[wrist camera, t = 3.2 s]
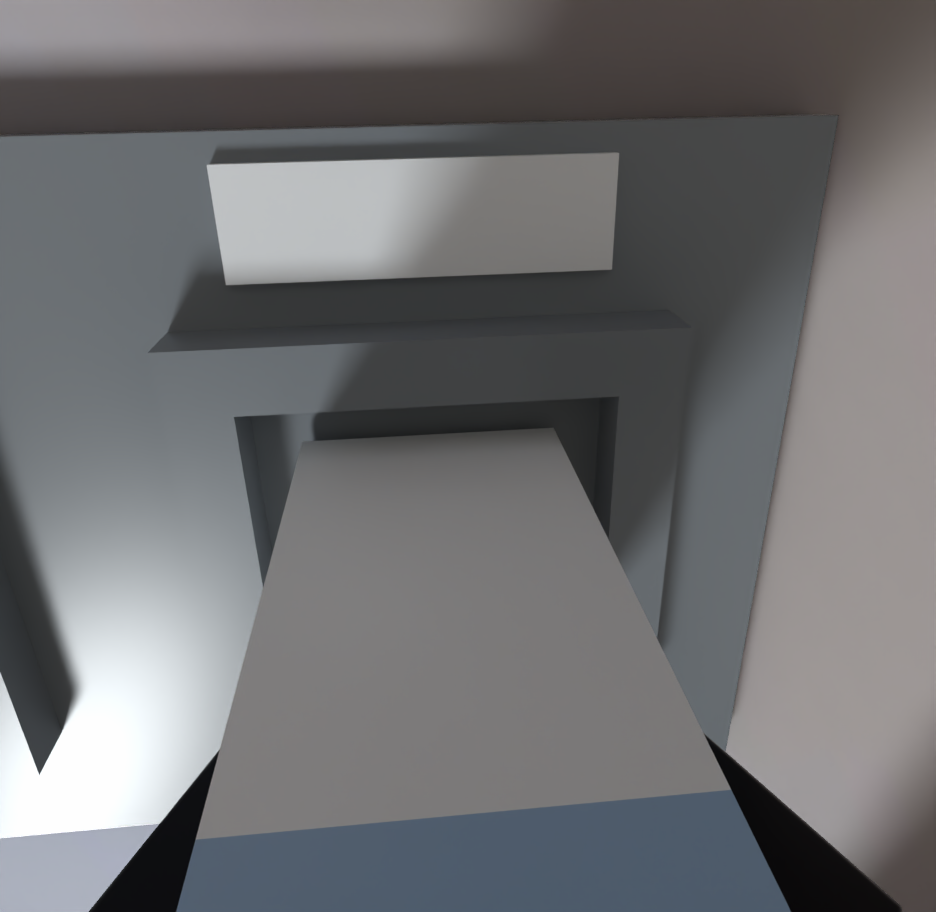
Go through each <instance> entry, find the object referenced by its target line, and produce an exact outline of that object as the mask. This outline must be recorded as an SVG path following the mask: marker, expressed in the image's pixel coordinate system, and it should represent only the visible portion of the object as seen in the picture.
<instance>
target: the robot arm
mask: <svg viewBox="0 0 936 912" xmlns="http://www.w3.org/2000/svg"><path fill="white" fill-rule="evenodd" d="M704 735H705V737H706V739H707V741H708V744H709V746H710V748H711V750H712V752H713V754H714V756H715V758H716V760H717V762H718V764H719V766H720V768H721V770H722V772H723V774H724V776H725V778H726V780H727V782H728V784H729V786H730V788H731V790H732V792H733V794H734V796H735V799H736V801H737V803H738V805H739V807H740V809H741V811H742V813H743V815H744V817H745V819H746V821H747V823H748V825H749V827H750V829H751V831H752V833H753V835H754V837H755V839H756V841H757V843H758V845H759V847H760V849H761V852H762V854H763V856H764V858H765V860H766V862H767V864H768V866H769V868H770V870H771V872H772V874H773V876H774V878H775V880H776V882H777V884H778V886H779V888H780V890H781V892H782V894H783V896H784V898H785V900H786V902H787V904H788V907H789V909H790V911H791V912H902V908H901V906H900V905H899V904H898V903H897V902H896V901H894V900H893V899H892V898H891V897H890V896H889V895H888V894H886V893H885V892H884V891H883V890H882V889H881V888H880V887H878V886H877V885H876V884H875V883H874V882H873V881H872V880H871V879H869V878H868V877H867V876H866V875H865V874H864V873H863V872H861V871H860V870H859V869H858V868H857V867H856V866H855V865H853V864H852V863H851V862H850V861H849V860H848V859H847V858H845V857H844V856H843V855H842V854H841V853H840V852H839V851H838V850H836V849H835V848H834V847H833V846H832V845H831V844H830V843H828V842H827V841H826V840H825V839H824V838H823V837H822V836H820V835H819V834H818V833H817V832H816V831H815V830H814V829H812V828H811V827H810V826H809V825H808V824H807V823H806V822H805V821H803V820H802V819H801V818H800V817H799V816H798V815H797V814H795V813H794V812H793V811H792V810H791V809H790V808H789V807H787V806H786V805H785V804H784V803H783V802H782V801H781V800H780V799H778V798H777V797H776V796H775V795H774V794H773V793H772V792H770V791H769V790H768V789H767V788H766V787H765V786H764V785H762V784H761V783H760V782H759V781H758V780H757V779H756V778H754V777H753V776H752V775H751V774H750V773H749V772H748V771H747V770H745V769H744V768H743V767H742V766H741V765H740V764H739V763H737V762H736V761H735V760H734V759H733V758H732V757H731V756H729V755H728V754H727V753H726V752H725V751H724V750H723V749H721V748H720V747H719V746H718V745H717V744H716V743H715V742H714V741H712V740H711V739H710V738H709V737H708V736H707V735H706V734H704ZM218 754H219V751H218V752H217V753H216V755H215V756H214V757H213V758H212V759H211V761H210V762H209V763H208V764H207V766H206V767H205V768H204V769H203V771H202V772H201V773H200V774H199V776H198V777H197V778H196V779H195V781H194V782H193V783H192V784H191V786H190V787H189V788H188V789H187V791H186V792H185V793H184V794H183V795H182V797H181V798H180V799H179V800H178V802H177V803H176V804H175V805H174V807H173V808H172V809H171V810H170V812H169V813H168V814H167V815H166V817H165V818H164V819H163V820H162V822H161V823H160V824H159V825H158V827H157V828H156V829H155V830H154V831H153V833H152V834H151V835H150V836H149V838H148V839H147V840H146V841H145V843H144V844H143V845H142V846H141V848H140V849H139V850H138V851H137V853H136V854H135V855H134V856H133V858H132V859H131V860H130V861H129V863H128V864H127V865H126V866H125V867H124V869H123V870H122V871H121V872H120V874H119V875H118V876H117V877H116V879H115V880H114V881H113V882H112V884H111V885H110V886H109V887H108V889H107V890H106V891H105V892H104V894H103V895H102V896H101V897H100V899H99V900H98V901H97V902H96V903H95V905H94V906H93V907H92V908H91V910H90V911H89V912H176V911H177V907H178V903H179V899H180V896H181V892H182V888H183V885H184V881H185V877H186V873H187V870H188V866H189V862H190V858H191V855H192V851H193V847H194V844H195V840H196V836H197V832H198V829H199V825H200V821H201V817H202V814H203V810H204V806H205V803H206V799H207V795H208V791H209V788H210V784H211V780H212V777H213V773H214V769H215V765H216V762H217V758H218Z"/></svg>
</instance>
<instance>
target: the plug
mask: <svg viewBox="0 0 936 912" xmlns="http://www.w3.org/2000/svg"><path fill="white" fill-rule="evenodd" d="M176 912H791V911H790V909H789V907H788V904H787V902H786V900H785V898H784V896H783V894H782V892H781V890H780V888H779V886H778V884H777V882H776V880H775V878H774V876H773V874H772V872H771V870H770V868H769V866H768V864H767V862H766V860H765V858H764V856H763V854H762V852H761V849H760V847H759V845H758V843H757V841H756V839H755V837H754V835H753V833H752V831H751V829H750V827H749V825H748V823H747V821H746V819H745V817H744V815H743V813H742V811H741V809H740V807H739V805H738V803H737V801H736V799H735V796H734V794H733V792H732V790H731V788H730V786H729V784H728V782H727V780H726V778H725V776H724V774H723V772H722V770H721V768H720V766H719V764H718V762H717V760H716V758H715V756H714V754H713V752H712V750H711V748H710V746H709V744H708V741H707V739H706V737H705V735H704V733H703V731H702V729H701V727H700V725H699V723H698V721H697V719H696V717H695V715H694V713H693V711H692V709H691V707H690V705H689V703H688V701H687V699H686V697H685V695H684V693H683V691H682V688H681V686H680V684H679V682H678V680H677V678H676V676H675V674H674V672H673V670H672V668H671V666H670V664H669V662H668V660H667V658H666V656H665V654H664V652H663V650H662V648H661V646H660V644H659V642H658V640H657V638H656V636H655V633H654V631H653V629H652V627H651V625H650V623H649V621H648V619H647V617H646V615H645V613H644V611H643V609H642V607H641V605H640V603H639V601H638V599H637V597H636V595H635V593H634V591H633V589H632V587H631V585H630V583H629V580H628V578H627V576H626V574H625V572H624V570H623V568H622V566H621V564H620V562H619V560H618V558H617V556H616V554H615V552H614V550H613V548H612V546H611V544H610V542H609V540H608V538H607V536H606V534H605V532H604V530H603V528H602V525H601V523H600V521H599V519H598V517H597V515H596V513H595V511H594V509H593V507H592V505H591V503H590V501H589V499H588V497H587V495H586V493H585V491H584V489H583V487H582V485H581V483H580V481H579V479H578V477H577V475H576V472H575V470H574V468H573V466H572V464H571V462H570V460H569V458H568V456H567V454H566V452H565V450H564V448H563V446H562V444H561V442H560V440H559V438H558V436H557V434H556V432H555V430H554V428H538V429H520V430H502V431H484V432H466V433H448V434H430V435H412V436H394V437H376V438H358V439H340V440H322V441H304V442H302V445H301V449H300V452H299V456H298V460H297V463H296V467H295V471H294V475H293V478H292V482H291V486H290V490H289V493H288V497H287V501H286V504H285V508H284V512H283V516H282V519H281V523H280V527H279V531H278V534H277V538H276V542H275V545H274V549H273V553H272V557H271V560H270V564H269V568H268V572H267V575H266V579H265V583H264V586H263V590H262V594H261V598H260V601H259V605H258V609H257V613H256V616H255V620H254V624H253V627H252V631H251V635H250V639H249V642H248V646H247V650H246V654H245V657H244V661H243V665H242V668H241V672H240V676H239V680H238V683H237V687H236V691H235V695H234V698H233V702H232V706H231V709H230V713H229V717H228V721H227V724H226V728H225V732H224V736H223V739H222V743H221V747H220V750H219V754H218V758H217V762H216V765H215V769H214V773H213V777H212V780H211V784H210V788H209V791H208V795H207V799H206V803H205V806H204V810H203V814H202V817H201V821H200V825H199V829H198V832H197V836H196V840H195V844H194V847H193V851H192V855H191V858H190V862H189V866H188V870H187V873H186V877H185V881H184V885H183V888H182V892H181V896H180V899H179V903H178V907H177V911H176Z"/></svg>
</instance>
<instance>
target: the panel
mask: <svg viewBox="0 0 936 912" xmlns="http://www.w3.org/2000/svg"><path fill="white" fill-rule="evenodd" d="M838 116H839V115H812V114H808V115H769V116H729V117H690V118H651V119H611V120H572V121H532V122H493V123H453V124H414V125H375V126H335V127H296V128H256V129H217V130H177V131H138V132H99V133H59V134H20V135H0V838H9V837H20V836H31V835H42V834H52V833H63V832H74V831H85V830H96V829H107V828H118V827H129V826H140V825H151V824H160V823H161V822H162V820H163V819H164V818H165V817H166V815H167V814H168V813H169V812H170V810H171V809H172V808H173V807H174V805H175V804H176V803H177V802H178V800H179V799H180V798H181V797H182V795H183V794H184V793H185V792H186V791H187V789H188V788H189V787H190V786H191V784H192V783H193V782H194V781H195V779H196V778H197V777H198V776H199V774H200V773H201V772H202V771H203V769H204V768H205V767H206V766H207V764H208V763H209V762H210V761H211V759H212V758H213V757H214V756H215V755H216V753H217V752H218V751H219V750H220V747H221V743H222V739H223V736H224V732H225V728H226V724H227V721H228V717H229V713H230V709H231V706H232V702H233V698H234V695H235V691H236V687H237V683H238V680H239V676H240V672H241V668H242V665H243V661H244V657H245V654H246V650H247V646H248V642H249V639H250V635H251V631H252V627H253V624H254V620H255V616H256V613H257V609H258V605H259V601H260V598H261V594H262V590H263V586H264V583H265V579H266V575H267V572H268V568H269V564H270V560H271V557H272V553H273V549H274V545H275V542H276V538H277V534H278V531H279V527H280V523H281V519H282V516H283V512H284V508H285V504H286V501H287V497H288V493H289V490H290V486H291V482H292V478H293V475H294V471H295V467H296V463H297V460H298V456H299V452H300V449H301V445H302V442H304V441H322V440H340V439H358V438H376V437H394V436H412V435H430V434H448V433H466V432H484V431H502V430H520V429H538V428H554V430H555V432H556V434H557V436H558V438H559V440H560V442H561V444H562V446H563V448H564V450H565V452H566V454H567V456H568V458H569V460H570V462H571V464H572V466H573V468H574V470H575V472H576V475H577V477H578V479H579V481H580V483H581V485H582V487H583V489H584V491H585V493H586V495H587V497H588V499H589V501H590V503H591V505H592V507H593V509H594V511H595V513H596V515H597V517H598V519H599V521H600V523H601V525H602V528H603V530H604V532H605V534H606V536H607V538H608V540H609V542H610V544H611V546H612V548H613V550H614V552H615V554H616V556H617V558H618V560H619V562H620V564H621V566H622V568H623V570H624V572H625V574H626V576H627V578H628V580H629V583H630V585H631V587H632V589H633V591H634V593H635V595H636V597H637V599H638V601H639V603H640V605H641V607H642V609H643V611H644V613H645V615H646V617H647V619H648V621H649V623H650V625H651V627H652V629H653V631H654V633H655V636H656V638H657V640H658V642H659V644H660V646H661V648H662V650H663V652H664V654H665V656H666V658H667V660H668V662H669V664H670V666H671V668H672V670H673V672H674V674H675V676H676V678H677V680H678V682H679V684H680V686H681V688H682V691H683V693H684V695H685V697H686V699H687V701H688V703H689V705H690V707H691V709H692V711H693V713H694V715H695V717H696V719H697V721H698V723H699V725H700V727H701V729H702V731H703V733H704V734H706V735H707V736H708V737H709V738H710V739H711V740H712V741H714V742H715V743H716V744H717V745H718V746H719V747H720V748H721V749H723V750H724V751H726V746H727V740H728V735H729V729H730V723H731V718H732V712H733V706H734V701H735V695H736V690H737V684H738V678H739V673H740V667H741V662H742V656H743V650H744V645H745V639H746V633H747V628H748V622H749V617H750V611H751V605H752V600H753V594H754V588H755V583H756V577H757V572H758V566H759V560H760V555H761V549H762V543H763V538H764V532H765V527H766V521H767V515H768V510H769V504H770V498H771V493H772V487H773V482H774V476H775V470H776V465H777V459H778V453H779V448H780V442H781V437H782V431H783V425H784V420H785V414H786V408H787V403H788V397H789V392H790V386H791V380H792V375H793V369H794V364H795V358H796V352H797V347H798V341H799V335H800V330H801V324H802V319H803V313H804V307H805V302H806V296H807V290H808V285H809V279H810V274H811V268H812V262H813V257H814V251H815V245H816V240H817V234H818V229H819V223H820V217H821V212H822V206H823V200H824V195H825V189H826V184H827V178H828V172H829V167H830V161H831V155H832V150H833V144H834V139H835V133H836V127H837V122H838Z"/></svg>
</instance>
